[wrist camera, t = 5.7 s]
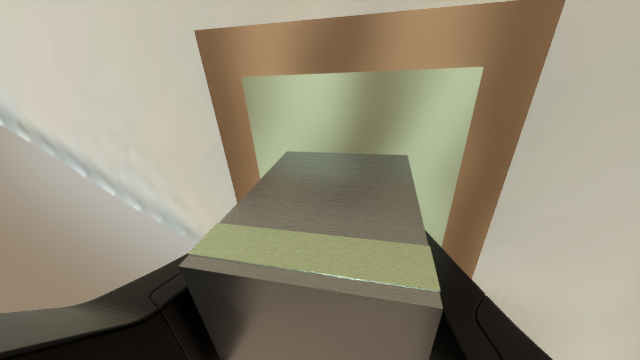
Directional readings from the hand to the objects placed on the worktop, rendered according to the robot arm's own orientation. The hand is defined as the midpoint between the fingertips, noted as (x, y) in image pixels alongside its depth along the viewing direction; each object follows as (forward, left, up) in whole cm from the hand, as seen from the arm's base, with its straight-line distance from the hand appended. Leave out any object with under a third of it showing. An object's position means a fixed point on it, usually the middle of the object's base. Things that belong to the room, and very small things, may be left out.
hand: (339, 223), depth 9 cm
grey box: (0, 0, -1) cm, 1 cm away
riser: (0, 0, -7) cm, 7 cm away
